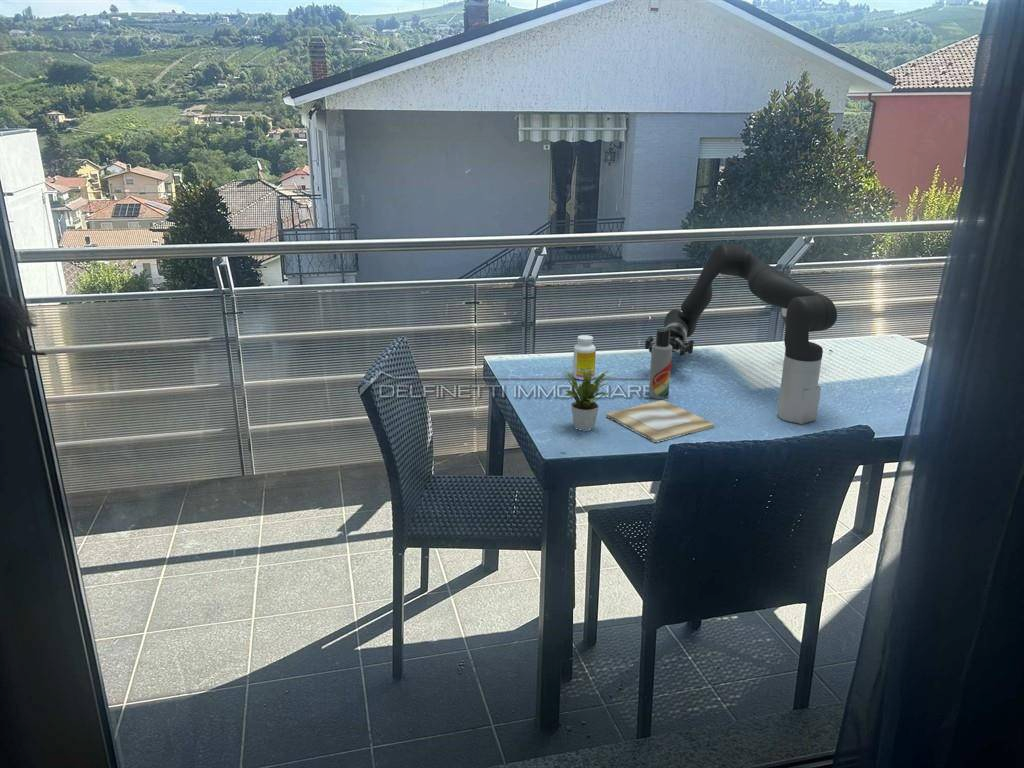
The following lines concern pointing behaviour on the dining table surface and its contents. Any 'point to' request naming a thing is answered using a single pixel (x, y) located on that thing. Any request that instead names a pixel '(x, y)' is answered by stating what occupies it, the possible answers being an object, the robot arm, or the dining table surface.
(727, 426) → the dining table surface
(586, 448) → the dining table surface
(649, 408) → the dock
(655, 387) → the lotion bottle
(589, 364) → the supplement bottle
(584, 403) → the house plant
